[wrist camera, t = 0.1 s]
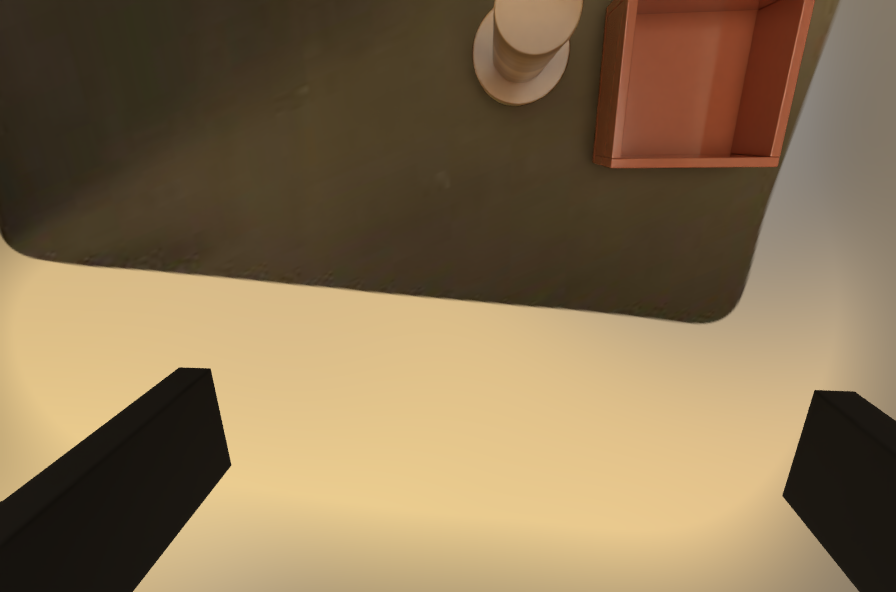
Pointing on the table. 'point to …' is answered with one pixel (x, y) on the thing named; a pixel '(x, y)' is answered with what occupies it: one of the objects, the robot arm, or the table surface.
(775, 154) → the red square box
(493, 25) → the wooden peg
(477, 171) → the table surface
